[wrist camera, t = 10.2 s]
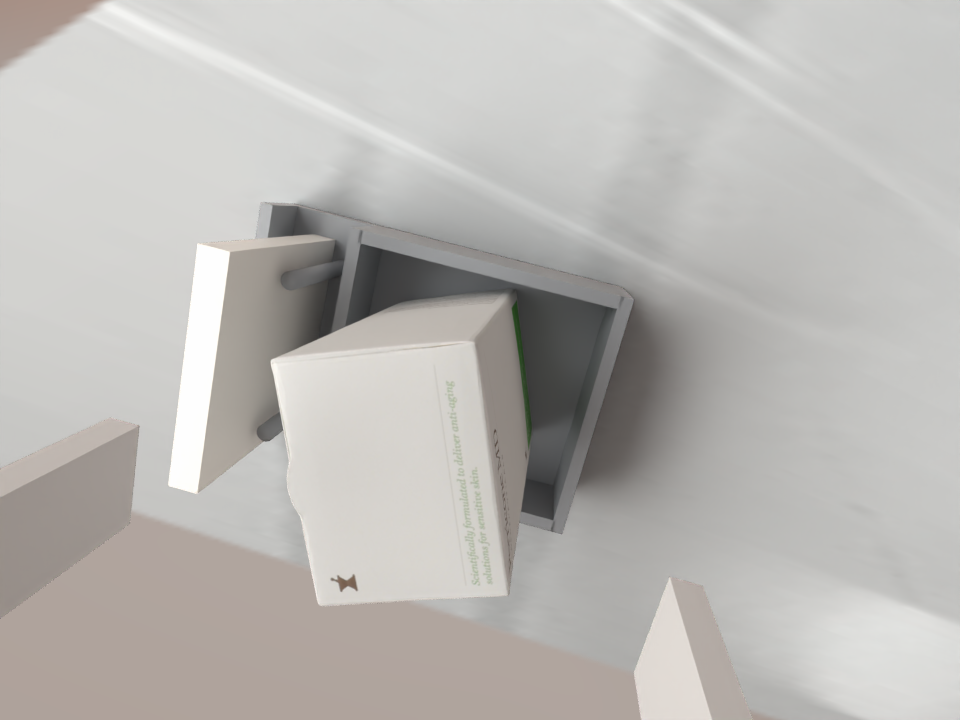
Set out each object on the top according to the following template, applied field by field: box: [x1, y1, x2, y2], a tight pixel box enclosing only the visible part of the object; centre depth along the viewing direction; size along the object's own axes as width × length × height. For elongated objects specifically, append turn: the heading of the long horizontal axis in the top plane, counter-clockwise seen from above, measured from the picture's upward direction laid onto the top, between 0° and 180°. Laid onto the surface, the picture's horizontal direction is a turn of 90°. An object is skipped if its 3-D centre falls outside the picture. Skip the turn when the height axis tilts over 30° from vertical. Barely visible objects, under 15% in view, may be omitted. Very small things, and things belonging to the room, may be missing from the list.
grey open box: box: [168, 202, 634, 534], centre depth 28 cm, size 18×12×12 cm, turn 76°
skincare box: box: [271, 288, 533, 606], centre depth 25 cm, size 8×7×16 cm
